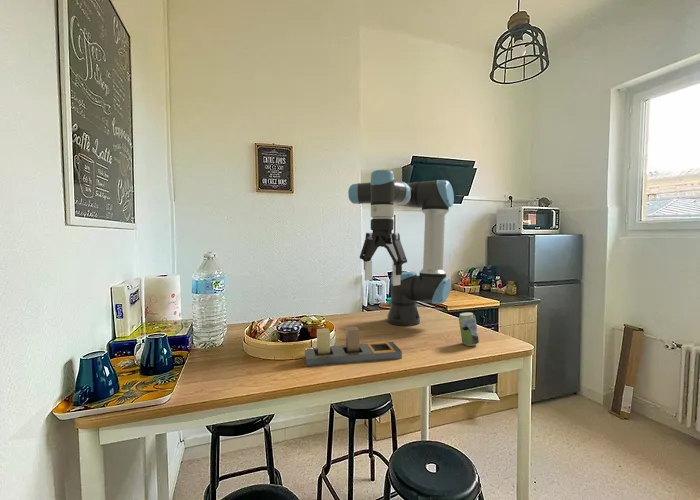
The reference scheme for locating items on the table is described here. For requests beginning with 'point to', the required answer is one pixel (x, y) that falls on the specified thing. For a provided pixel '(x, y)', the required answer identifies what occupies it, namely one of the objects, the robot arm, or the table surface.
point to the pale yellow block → (323, 342)
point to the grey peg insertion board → (354, 354)
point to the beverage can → (468, 329)
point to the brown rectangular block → (352, 340)
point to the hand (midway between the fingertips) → (381, 282)
